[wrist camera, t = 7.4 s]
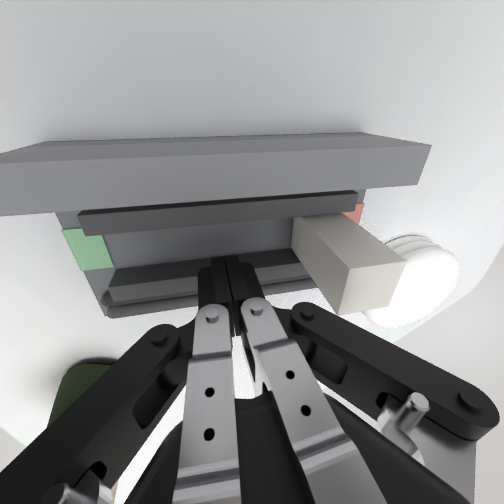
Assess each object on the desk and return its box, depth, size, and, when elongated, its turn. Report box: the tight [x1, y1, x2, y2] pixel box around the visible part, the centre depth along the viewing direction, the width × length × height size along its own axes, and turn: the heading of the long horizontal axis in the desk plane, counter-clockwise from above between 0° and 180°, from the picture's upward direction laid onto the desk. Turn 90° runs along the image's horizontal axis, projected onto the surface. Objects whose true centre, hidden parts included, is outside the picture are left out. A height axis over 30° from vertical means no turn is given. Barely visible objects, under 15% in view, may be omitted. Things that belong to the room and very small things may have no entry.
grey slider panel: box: [0, 132, 432, 319], centre depth 16 cm, size 12×20×6 cm, turn 90°
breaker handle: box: [291, 213, 407, 316], centre depth 15 cm, size 3×3×7 cm
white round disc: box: [361, 236, 460, 328], centre depth 25 cm, size 10×10×4 cm
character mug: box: [47, 364, 118, 504], centre depth 19 cm, size 11×7×13 cm, turn 164°
